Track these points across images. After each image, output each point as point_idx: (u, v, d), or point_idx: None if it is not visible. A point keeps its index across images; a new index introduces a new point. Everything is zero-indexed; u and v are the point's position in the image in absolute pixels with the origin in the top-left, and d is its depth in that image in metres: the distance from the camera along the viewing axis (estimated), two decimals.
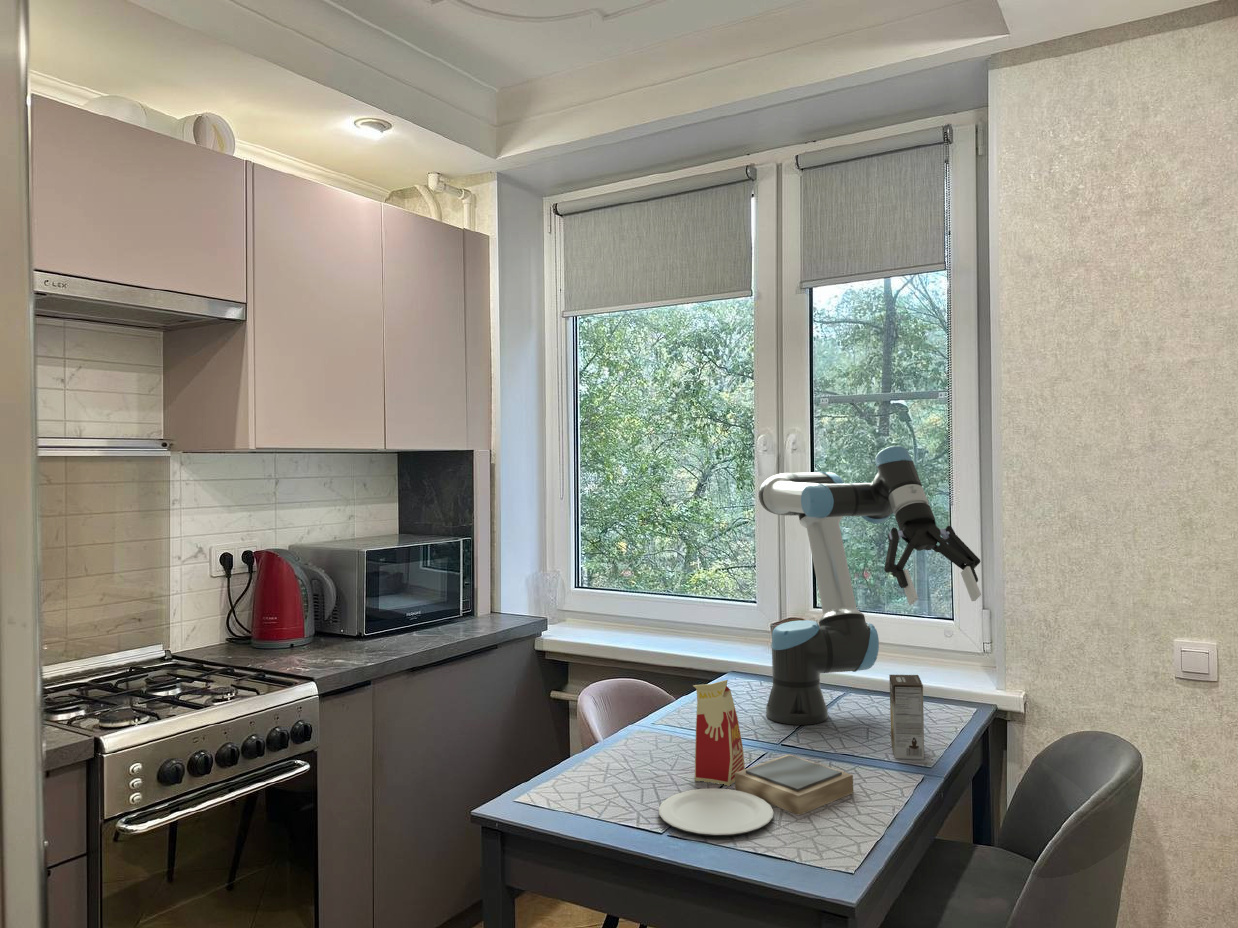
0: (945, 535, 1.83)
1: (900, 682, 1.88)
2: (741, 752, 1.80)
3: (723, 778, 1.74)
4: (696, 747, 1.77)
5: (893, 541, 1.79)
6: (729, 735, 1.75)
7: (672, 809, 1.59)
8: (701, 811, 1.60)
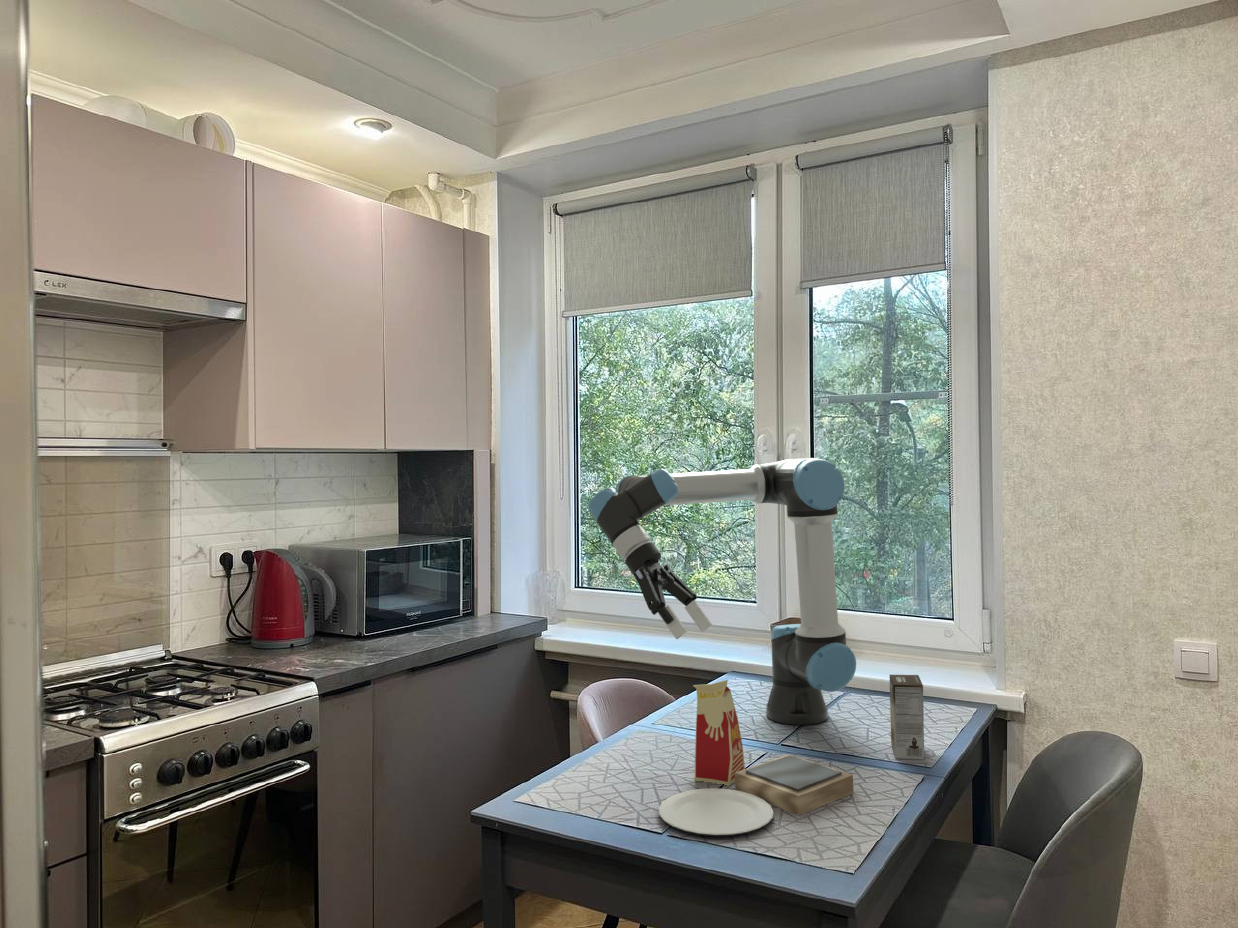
0: None
1: (900, 682, 1.88)
2: (741, 752, 1.80)
3: (723, 778, 1.74)
4: (696, 747, 1.77)
5: None
6: (729, 735, 1.75)
7: (672, 809, 1.59)
8: (701, 811, 1.60)
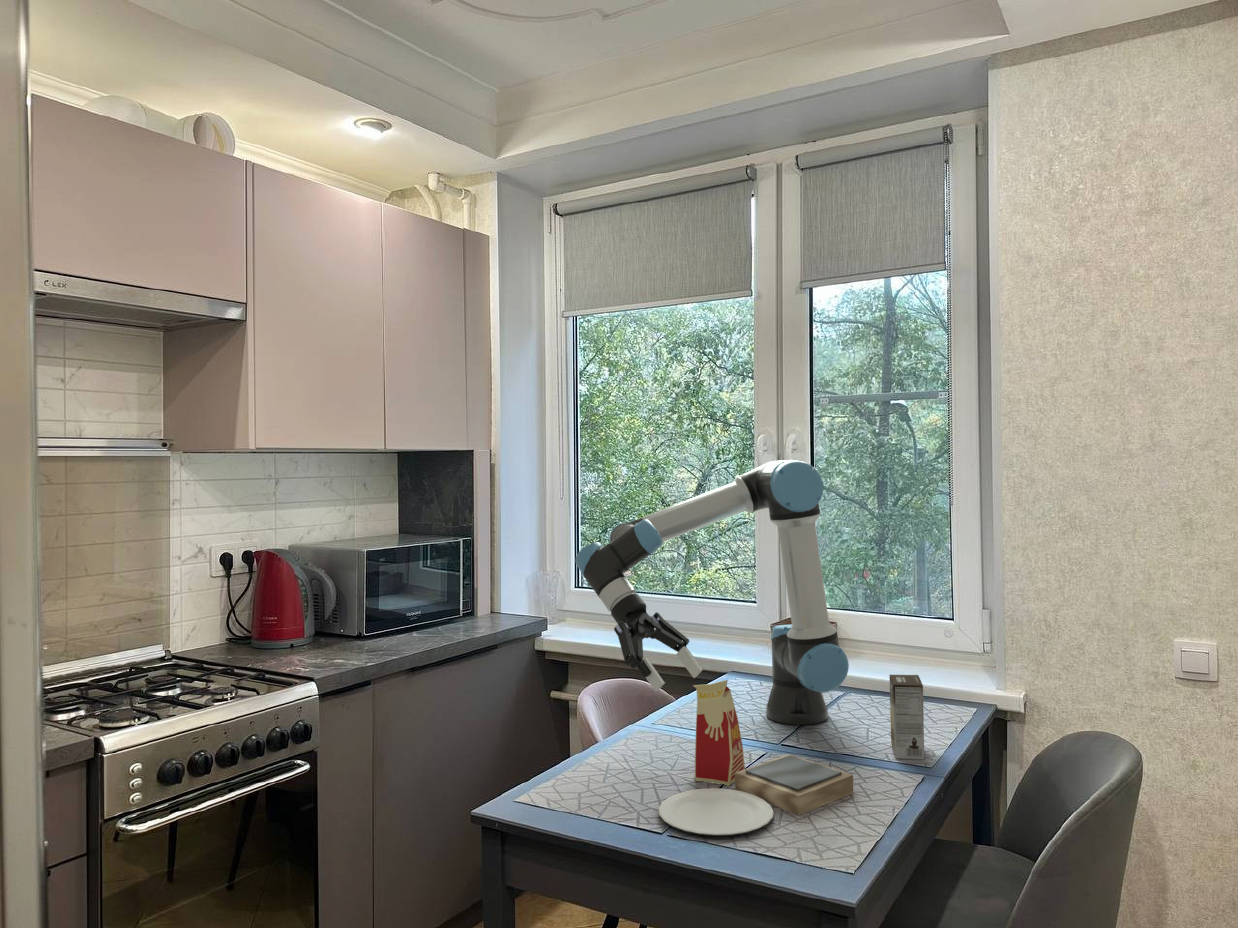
0: None
1: (900, 682, 1.88)
2: (741, 752, 1.80)
3: (723, 778, 1.74)
4: (696, 747, 1.77)
5: None
6: (729, 735, 1.75)
7: (672, 809, 1.59)
8: (701, 811, 1.60)
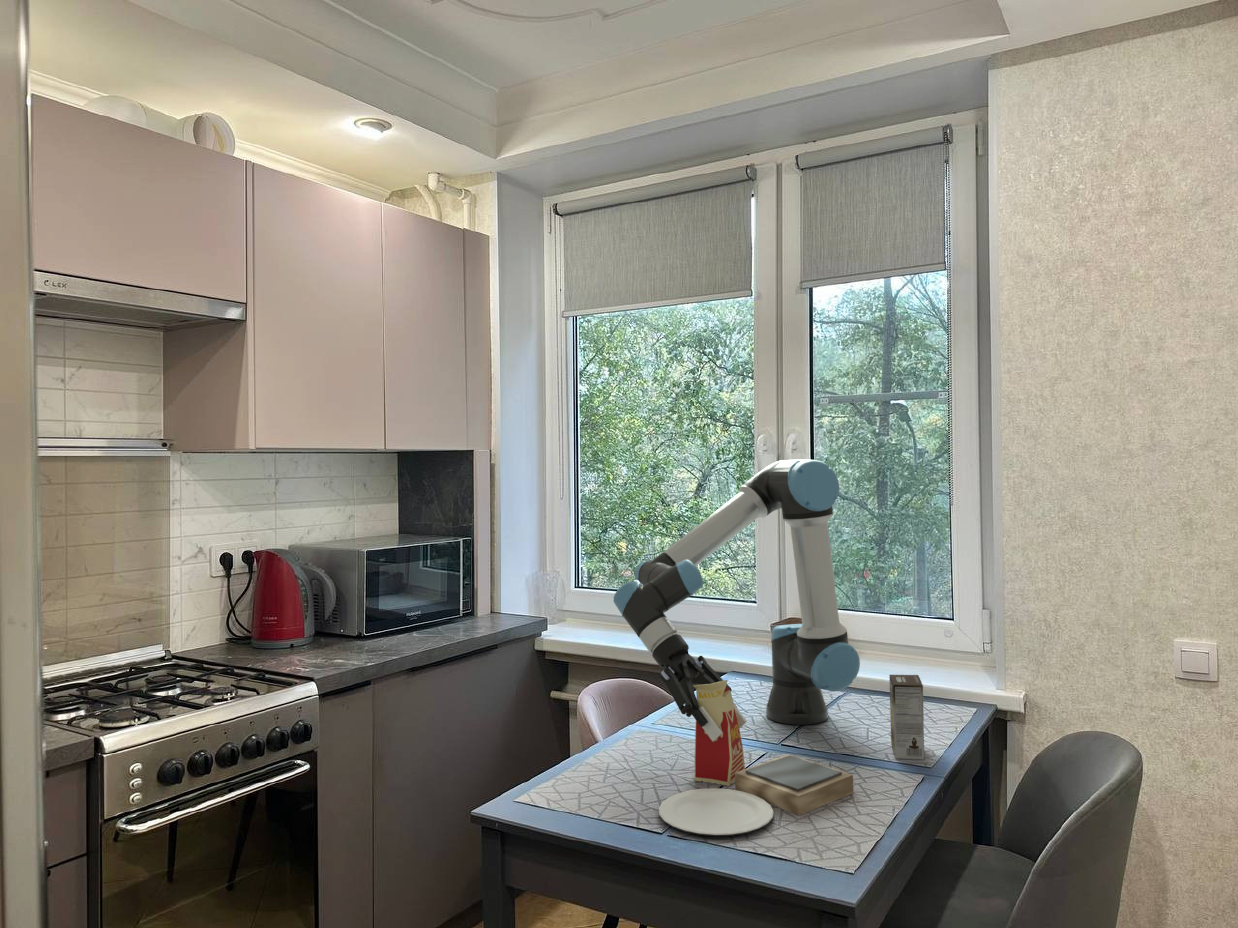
0: None
1: (900, 682, 1.88)
2: (741, 752, 1.79)
3: (723, 779, 1.74)
4: (696, 747, 1.77)
5: None
6: (729, 735, 1.75)
7: (672, 809, 1.59)
8: (701, 811, 1.60)
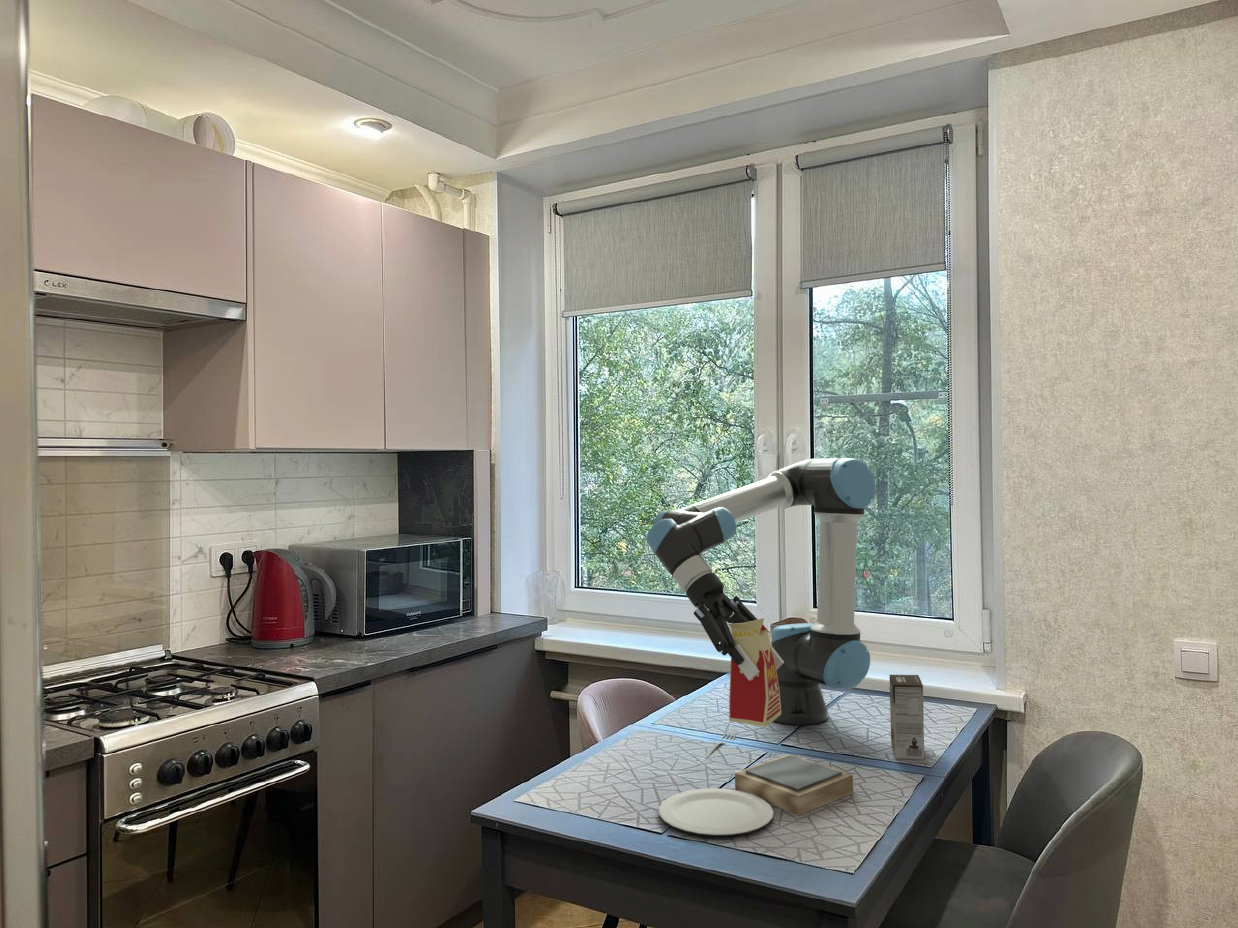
0: None
1: (900, 682, 1.88)
2: (777, 693, 1.73)
3: (759, 719, 1.68)
4: (730, 687, 1.70)
5: None
6: (765, 674, 1.68)
7: (672, 809, 1.59)
8: (701, 811, 1.60)
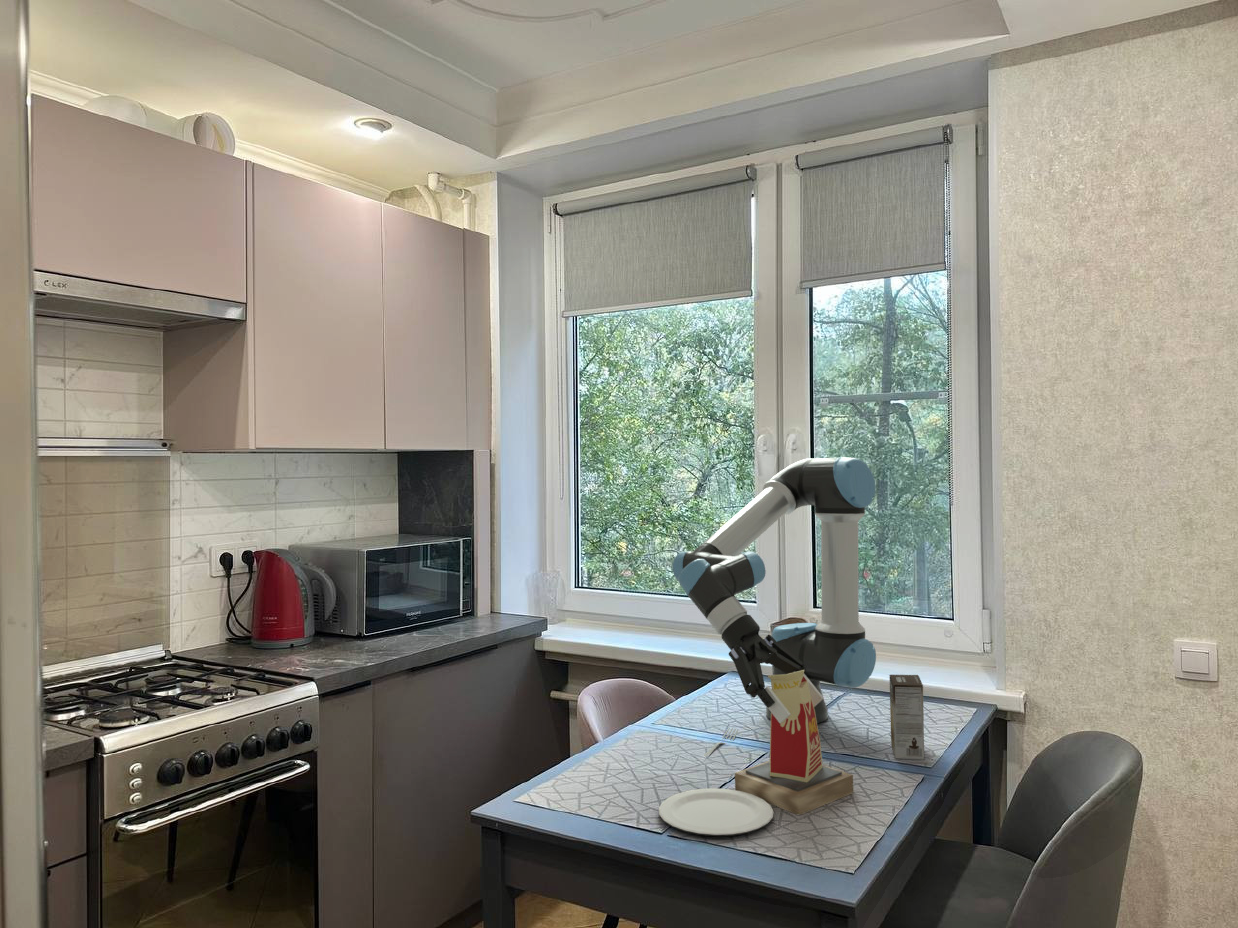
0: None
1: (900, 682, 1.88)
2: (818, 747, 1.70)
3: (801, 774, 1.64)
4: (771, 740, 1.67)
5: None
6: (806, 728, 1.65)
7: (672, 809, 1.59)
8: (701, 811, 1.60)
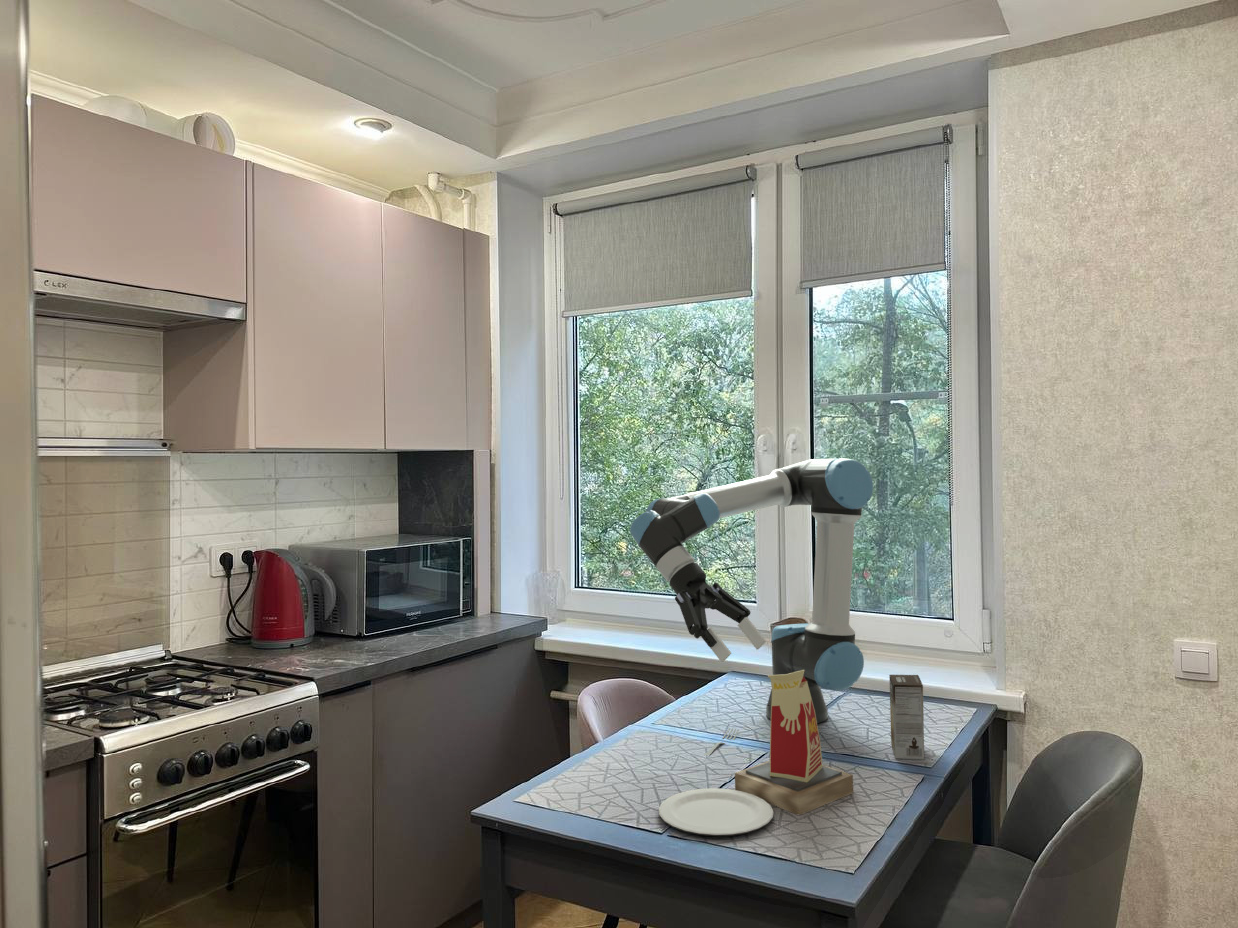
0: None
1: (900, 682, 1.88)
2: (818, 747, 1.70)
3: (801, 774, 1.64)
4: (771, 740, 1.67)
5: None
6: (806, 728, 1.65)
7: (672, 809, 1.59)
8: (701, 811, 1.60)
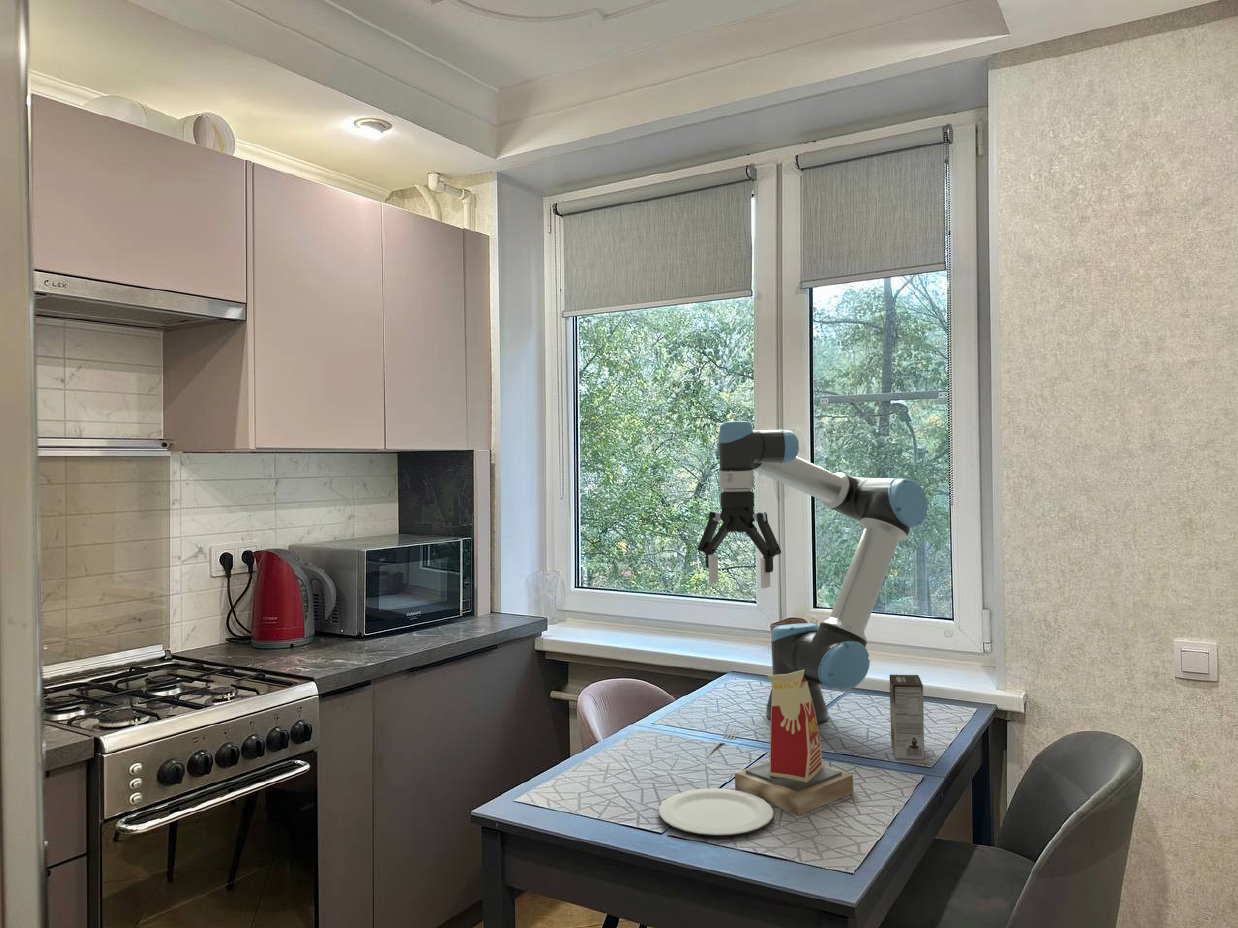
0: None
1: (900, 682, 1.88)
2: (818, 747, 1.70)
3: (801, 774, 1.64)
4: (771, 740, 1.67)
5: (707, 525, 1.99)
6: (806, 728, 1.65)
7: (672, 809, 1.59)
8: (701, 811, 1.60)
